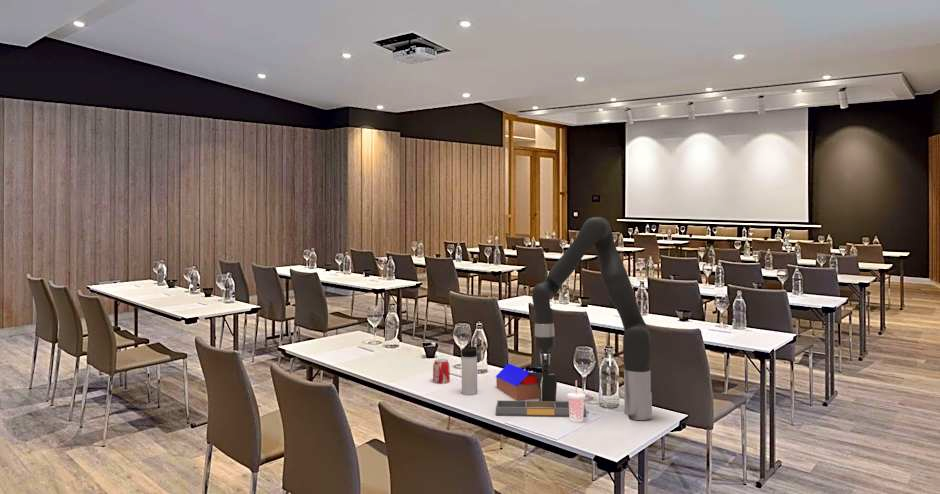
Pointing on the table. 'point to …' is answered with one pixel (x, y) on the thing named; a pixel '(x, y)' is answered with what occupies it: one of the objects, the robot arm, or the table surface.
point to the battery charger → (548, 388)
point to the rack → (534, 408)
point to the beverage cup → (576, 406)
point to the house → (518, 383)
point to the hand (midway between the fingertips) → (545, 378)
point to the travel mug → (469, 371)
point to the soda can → (441, 371)
